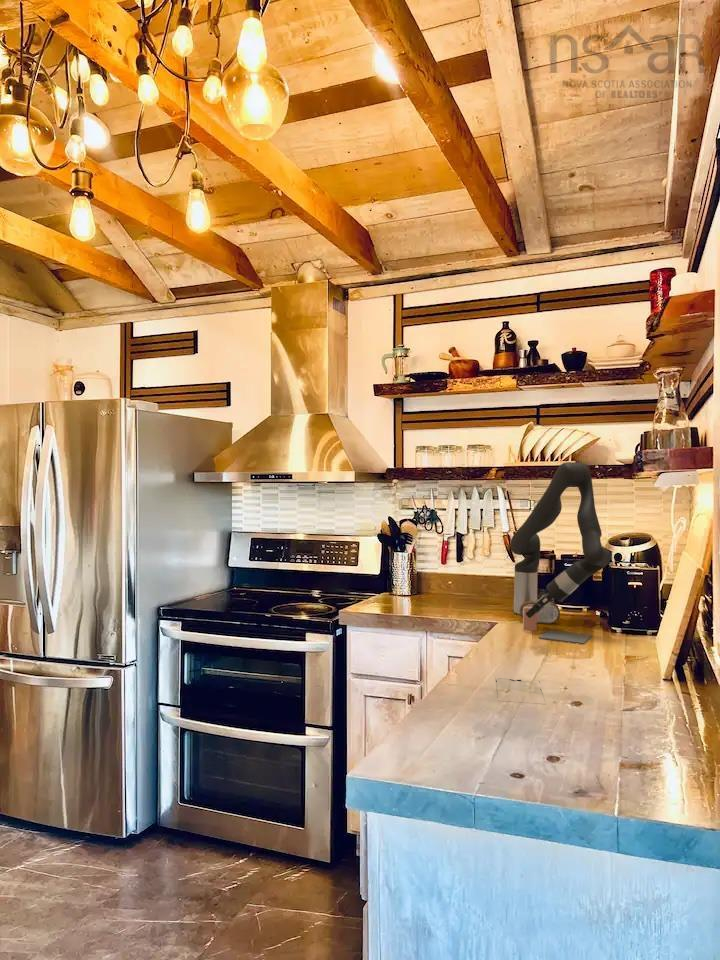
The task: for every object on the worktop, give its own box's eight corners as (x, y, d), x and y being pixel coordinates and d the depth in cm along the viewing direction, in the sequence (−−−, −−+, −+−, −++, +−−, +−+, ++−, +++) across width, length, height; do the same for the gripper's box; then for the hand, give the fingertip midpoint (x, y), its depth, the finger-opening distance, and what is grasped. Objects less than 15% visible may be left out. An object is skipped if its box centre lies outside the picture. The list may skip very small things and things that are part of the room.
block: (525, 628, 253) (525, 606, 253) (536, 629, 251) (537, 607, 251) (522, 629, 251) (523, 607, 251) (534, 631, 249) (535, 609, 249)
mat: (548, 631, 249) (548, 629, 249) (591, 636, 242) (591, 635, 242) (539, 638, 236) (539, 637, 236) (583, 644, 229) (584, 643, 229)
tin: (558, 623, 264) (559, 601, 264) (560, 624, 261) (561, 602, 261) (519, 621, 266) (519, 599, 266) (520, 623, 262) (520, 601, 262)
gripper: (560, 575, 253) (528, 603, 259) (551, 579, 241) (518, 609, 246) (574, 591, 251) (542, 618, 256) (566, 596, 238) (532, 625, 243)
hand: (530, 614), depth 251 cm, fingers open, 8 cm apart
